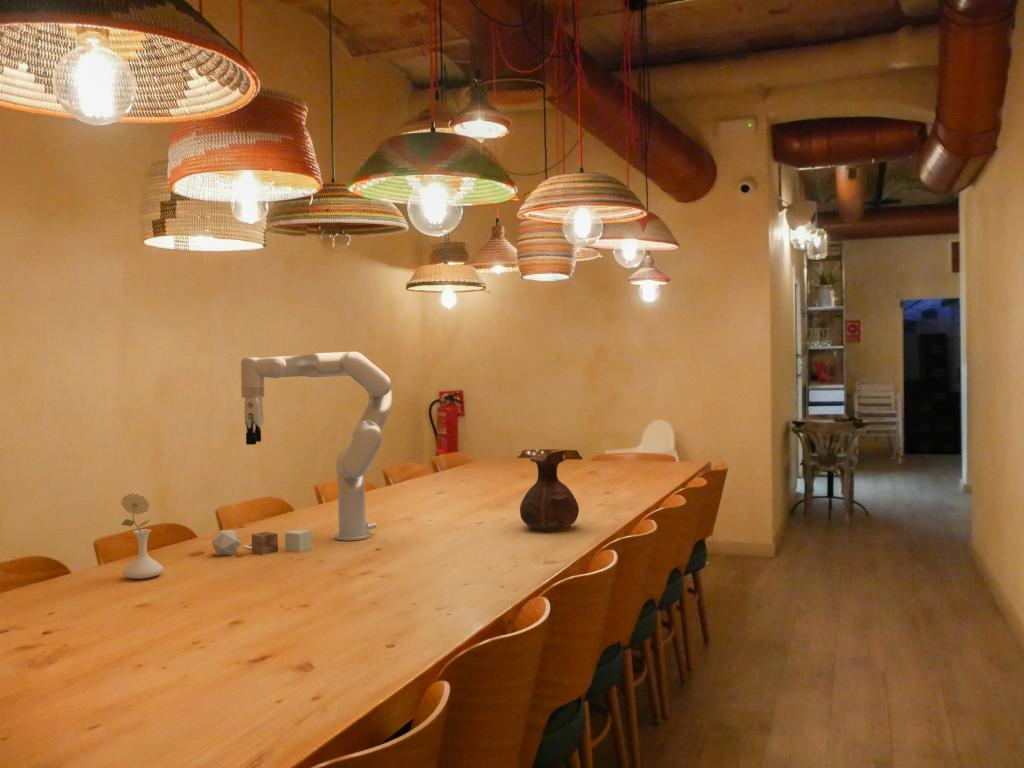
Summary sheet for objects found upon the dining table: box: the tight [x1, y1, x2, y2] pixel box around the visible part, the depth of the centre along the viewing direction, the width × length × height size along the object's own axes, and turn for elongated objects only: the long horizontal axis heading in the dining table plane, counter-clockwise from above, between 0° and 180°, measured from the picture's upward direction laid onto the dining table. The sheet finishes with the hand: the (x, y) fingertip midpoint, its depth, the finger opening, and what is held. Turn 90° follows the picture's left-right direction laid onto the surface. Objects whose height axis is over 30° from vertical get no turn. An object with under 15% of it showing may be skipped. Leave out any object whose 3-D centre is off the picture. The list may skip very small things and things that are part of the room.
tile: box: [241, 543, 252, 551], centre depth 304 cm, size 8×8×1 cm
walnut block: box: [251, 531, 279, 556], centre depth 296 cm, size 6×6×6 cm
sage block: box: [284, 529, 312, 553], centre depth 299 cm, size 6×6×6 cm
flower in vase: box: [120, 492, 165, 580], centre depth 265 cm, size 13×11×25 cm
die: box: [211, 529, 242, 556], centre depth 293 cm, size 8×9×10 cm
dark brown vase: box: [519, 449, 580, 532], centre depth 325 cm, size 22×22×30 cm
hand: (253, 443), depth 305 cm, fingers open, 9 cm apart
